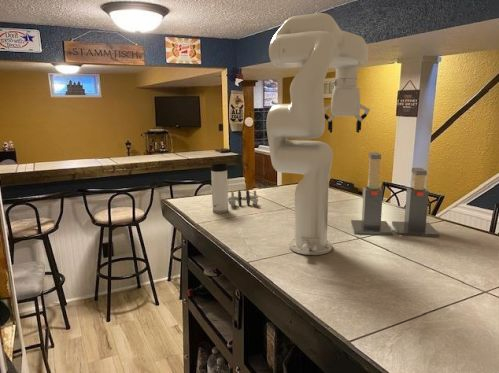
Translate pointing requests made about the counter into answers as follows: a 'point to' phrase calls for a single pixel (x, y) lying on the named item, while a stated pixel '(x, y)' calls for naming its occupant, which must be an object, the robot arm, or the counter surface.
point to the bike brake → (248, 197)
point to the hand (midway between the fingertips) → (344, 132)
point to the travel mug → (219, 187)
